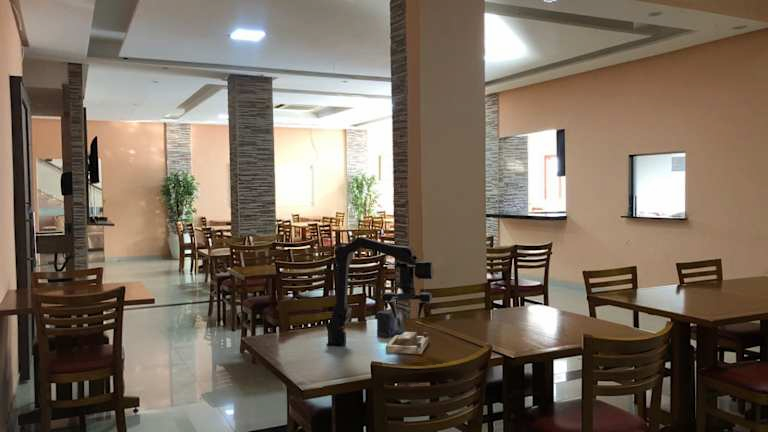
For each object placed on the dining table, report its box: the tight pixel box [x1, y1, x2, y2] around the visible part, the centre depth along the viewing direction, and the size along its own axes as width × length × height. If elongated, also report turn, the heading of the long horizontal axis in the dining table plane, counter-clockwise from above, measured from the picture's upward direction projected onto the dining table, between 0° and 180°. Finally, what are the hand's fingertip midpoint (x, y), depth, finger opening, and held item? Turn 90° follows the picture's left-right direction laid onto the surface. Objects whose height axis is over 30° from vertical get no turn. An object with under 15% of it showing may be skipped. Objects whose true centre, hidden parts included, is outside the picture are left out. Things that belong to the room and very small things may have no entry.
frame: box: [397, 331, 418, 346], centre depth 242 cm, size 5×12×5 cm, turn 165°
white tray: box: [385, 331, 429, 355], centre depth 242 cm, size 14×19×4 cm
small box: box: [376, 308, 403, 339], centre depth 263 cm, size 11×6×10 cm, turn 143°
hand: (407, 319), depth 241 cm, fingers open, 9 cm apart
